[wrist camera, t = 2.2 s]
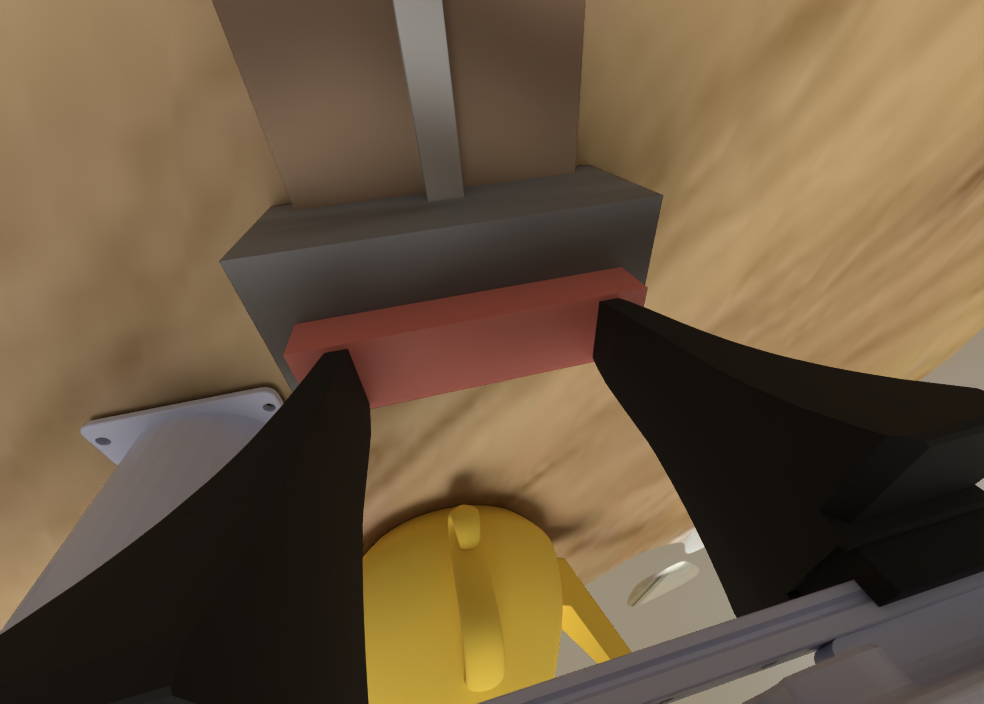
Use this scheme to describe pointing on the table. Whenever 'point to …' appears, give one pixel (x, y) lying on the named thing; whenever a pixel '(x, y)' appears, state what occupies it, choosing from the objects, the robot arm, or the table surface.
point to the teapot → (472, 609)
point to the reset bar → (466, 336)
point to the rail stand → (420, 157)
